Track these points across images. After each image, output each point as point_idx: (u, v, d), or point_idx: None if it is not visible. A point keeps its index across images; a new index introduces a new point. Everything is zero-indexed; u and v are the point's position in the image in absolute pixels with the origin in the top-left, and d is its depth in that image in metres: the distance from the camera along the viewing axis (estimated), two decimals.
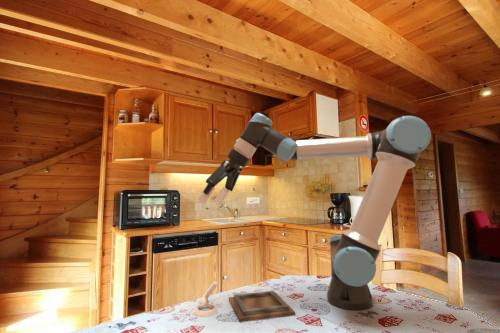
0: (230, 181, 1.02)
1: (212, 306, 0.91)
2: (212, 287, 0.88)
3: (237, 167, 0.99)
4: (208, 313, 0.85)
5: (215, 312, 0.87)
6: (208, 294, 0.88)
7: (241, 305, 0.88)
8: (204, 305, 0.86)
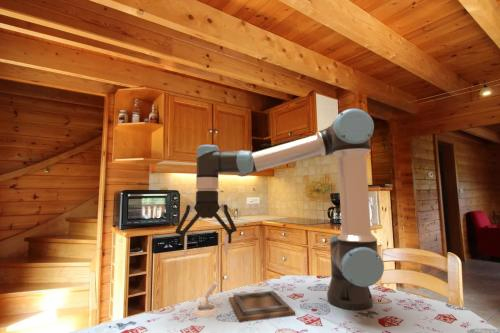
0: (220, 223, 0.92)
1: (212, 306, 0.91)
2: (212, 287, 0.88)
3: (211, 205, 0.92)
4: (208, 313, 0.85)
5: (215, 312, 0.87)
6: (208, 294, 0.88)
7: (241, 305, 0.88)
8: (204, 305, 0.86)
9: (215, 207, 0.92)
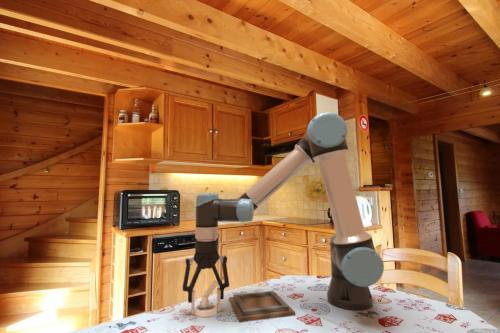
0: (215, 276, 0.90)
1: (212, 306, 0.91)
2: (212, 287, 0.88)
3: (212, 254, 0.90)
4: (208, 312, 0.85)
5: (215, 312, 0.87)
6: (208, 294, 0.88)
7: (241, 305, 0.88)
8: (204, 305, 0.86)
9: (215, 257, 0.90)
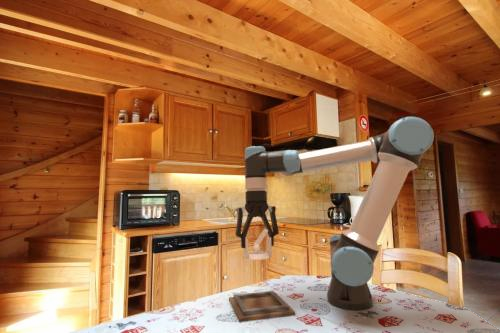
0: (265, 224, 0.95)
1: (262, 253, 0.96)
2: (264, 233, 0.93)
3: (262, 203, 0.95)
4: (262, 256, 0.90)
5: (267, 256, 0.92)
6: (260, 240, 0.93)
7: (241, 305, 0.88)
8: (257, 249, 0.91)
9: (264, 206, 0.95)
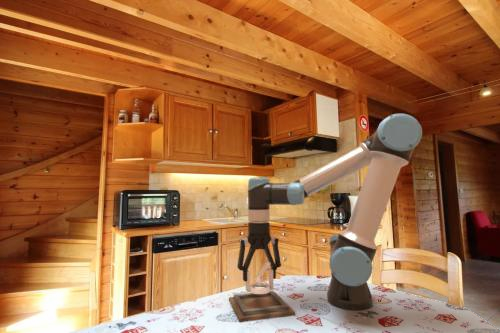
0: (268, 257, 0.94)
1: (264, 285, 0.95)
2: (266, 266, 0.92)
3: (264, 235, 0.94)
4: (264, 290, 0.90)
5: (269, 290, 0.91)
6: (262, 273, 0.92)
7: (241, 305, 0.88)
8: (259, 283, 0.90)
9: (267, 238, 0.94)
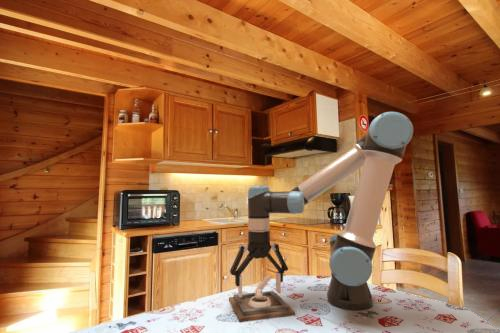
0: (272, 263, 0.94)
1: (264, 298, 0.95)
2: (266, 280, 0.91)
3: (264, 245, 0.94)
4: (264, 304, 0.89)
5: (270, 303, 0.91)
6: (262, 286, 0.92)
7: (241, 305, 0.88)
8: (260, 297, 0.90)
9: (267, 247, 0.94)
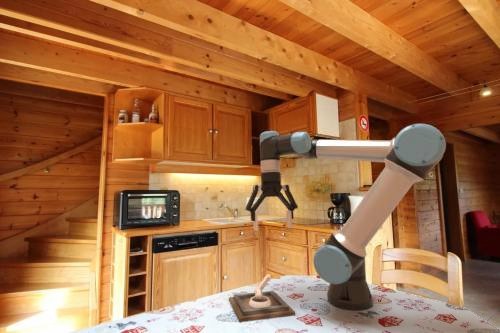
0: (283, 201, 1.03)
1: (264, 298, 0.95)
2: (266, 280, 0.91)
3: (276, 185, 1.02)
4: (264, 304, 0.89)
5: (270, 303, 0.91)
6: (262, 286, 0.92)
7: (241, 305, 0.88)
8: (260, 297, 0.90)
9: (279, 187, 1.02)
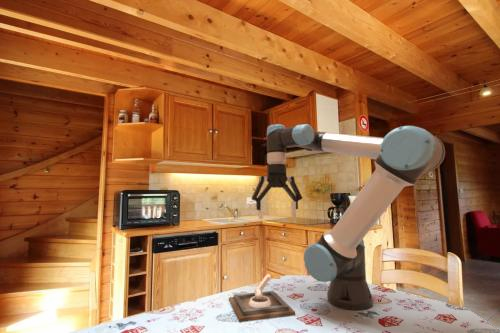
0: (288, 192, 1.07)
1: (264, 298, 0.95)
2: (266, 280, 0.91)
3: (281, 177, 1.06)
4: (264, 304, 0.89)
5: (270, 303, 0.91)
6: (262, 286, 0.92)
7: (241, 305, 0.88)
8: (260, 297, 0.90)
9: (284, 178, 1.07)
